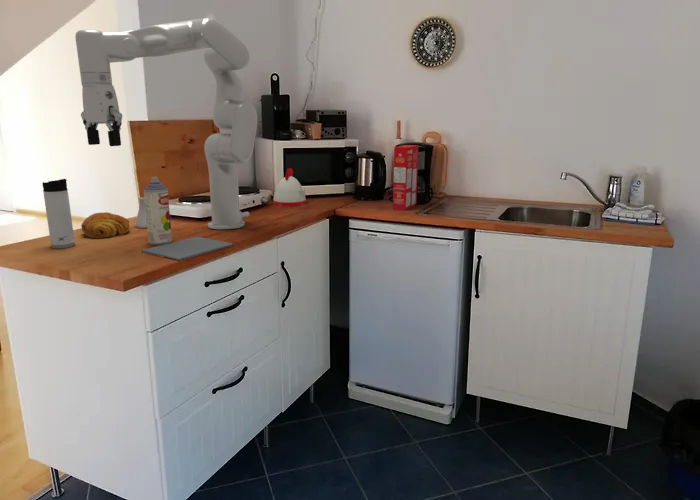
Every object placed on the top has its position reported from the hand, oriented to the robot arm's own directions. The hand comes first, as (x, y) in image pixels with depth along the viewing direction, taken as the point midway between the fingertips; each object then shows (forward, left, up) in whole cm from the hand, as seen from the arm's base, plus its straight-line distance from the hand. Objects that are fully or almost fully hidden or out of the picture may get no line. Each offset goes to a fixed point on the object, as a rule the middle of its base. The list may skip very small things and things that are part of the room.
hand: (104, 145), depth 147 cm
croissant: (-11, -22, -30) cm, 39 cm away
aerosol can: (-13, +3, -30) cm, 33 cm away
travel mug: (+6, -17, -30) cm, 35 cm away
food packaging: (-110, +35, -30) cm, 119 cm away
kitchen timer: (-89, -10, -30) cm, 94 cm away
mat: (-13, +16, -30) cm, 36 cm away
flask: (-25, -21, -30) cm, 44 cm away
